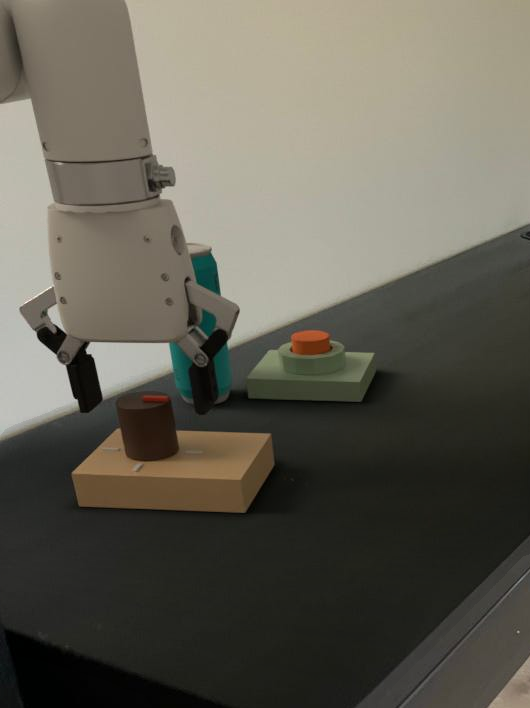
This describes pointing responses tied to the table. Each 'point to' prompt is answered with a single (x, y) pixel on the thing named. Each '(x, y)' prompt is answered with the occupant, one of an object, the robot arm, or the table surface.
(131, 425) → the dial
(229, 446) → the dial panel
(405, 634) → the table surface
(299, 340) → the switch button
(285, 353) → the switch base
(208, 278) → the beverage can
